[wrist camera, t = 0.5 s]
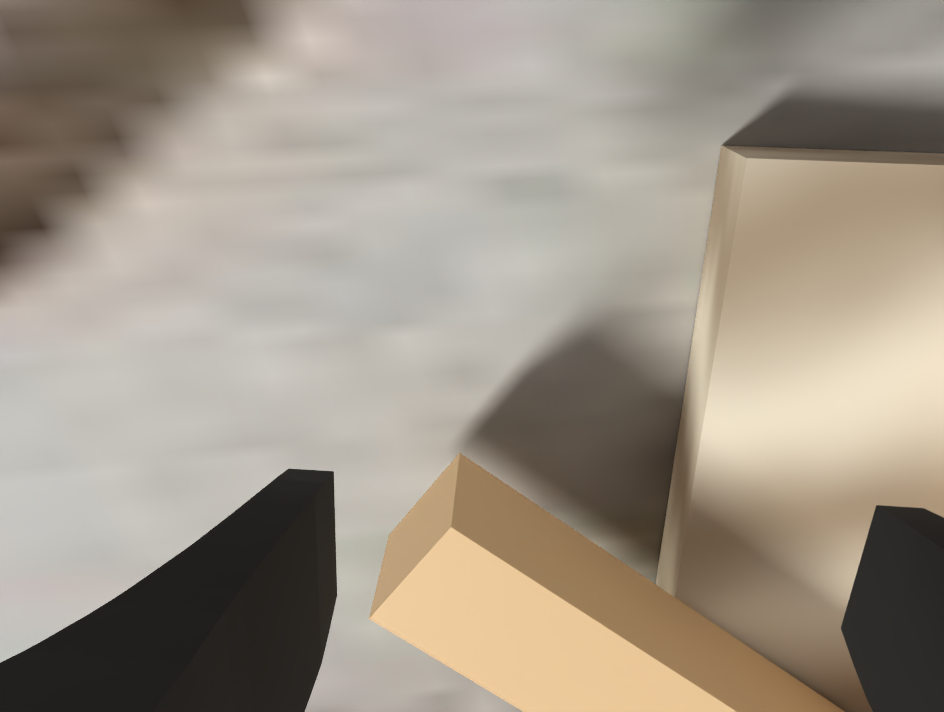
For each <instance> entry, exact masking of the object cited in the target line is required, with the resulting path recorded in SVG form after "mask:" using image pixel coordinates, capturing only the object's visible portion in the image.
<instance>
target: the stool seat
mask: <svg viewBox="0 0 944 712" xmlns="http://www.w3.org/2000/svg"><path fill="white" fill-rule="evenodd" d="M876 505H882V506H898V507H915V508H924V509H927V510H929V511H931V512H933V513H935V514H937V515H939V516H941V517H943V518H944V153H918V152H889V151H861V150H833V149H805V148H777V147H749V146H721V152H720V159H719V166H718V172H717V179H716V186H715V192H714V199H713V206H712V212H711V219H710V225H709V232H708V239H707V245H706V252H705V259H704V265H703V272H702V279H701V285H700V292H699V299H698V305H697V312H696V319H695V325H694V332H693V339H692V345H691V352H690V359H689V365H688V372H687V378H686V385H685V392H684V398H683V405H682V412H681V418H680V425H679V432H678V438H677V445H676V452H675V458H674V465H673V472H672V478H671V485H670V492H669V498H668V505H667V511H666V518H665V525H664V531H663V538H662V545H661V551H660V558H659V565H658V571H657V578H656V585H657V586H659V587H660V588H662V589H663V590H665V591H666V592H668V593H669V594H671V595H672V596H673V597H675V598H676V599H678V600H679V601H681V602H682V603H684V604H685V605H687V606H688V607H690V608H691V609H693V610H694V611H696V612H697V613H699V614H700V615H702V616H703V617H705V618H706V619H708V620H709V621H711V622H712V623H714V624H715V625H717V626H718V627H720V628H721V629H723V630H724V631H726V632H727V633H729V634H730V635H732V636H733V637H735V638H736V639H738V640H739V641H741V642H742V643H744V644H745V645H746V646H748V647H749V648H751V649H752V650H754V651H755V652H757V653H758V654H760V655H761V656H763V657H764V658H766V659H767V660H769V661H770V662H772V663H773V664H775V665H776V666H778V667H779V668H781V669H782V670H784V671H785V672H787V673H788V674H790V675H791V676H793V677H794V678H796V679H797V680H799V681H800V682H802V683H803V684H805V685H806V686H808V687H809V688H811V689H812V690H814V691H815V692H816V693H818V694H819V695H821V696H822V697H824V698H825V699H827V700H828V701H830V702H831V703H833V704H834V705H836V706H837V707H839V708H840V709H842V710H843V711H845V712H873V711H872V709H871V707H870V705H869V703H868V701H867V698H866V696H865V693H864V691H863V688H862V686H861V683H860V680H859V678H858V675H857V673H856V670H855V668H854V665H853V662H852V659H851V656H850V653H849V651H848V648H847V645H846V642H845V639H844V636H843V633H842V630H841V625H842V622H843V618H844V615H845V611H846V608H847V605H848V601H849V598H850V594H851V591H852V587H853V584H854V580H855V577H856V573H857V570H858V566H859V563H860V560H861V556H862V553H863V549H864V546H865V542H866V539H867V535H868V532H869V528H870V525H871V522H872V518H873V515H874V511H875V508H876Z"/></svg>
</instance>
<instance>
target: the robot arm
mask: <svg viewBox="0 0 944 712" xmlns="http://www.w3.org/2000/svg"><path fill="white" fill-rule="evenodd" d="M336 597H337V578H336V543H335V507H334V472H333V471H316V470H300V469H288V470H286V471H285V472H284V473H282V474H281V475H280V476H278V477H277V478H276V479H275V480H273V481H272V482H271V483H270V484H268V485H267V486H266V487H265V488H263V489H262V490H261V491H260V492H258V493H257V494H256V495H255V496H253V497H252V498H251V499H250V500H249V501H247V502H246V503H245V504H244V505H242V506H241V507H240V508H239V509H237V510H236V511H235V512H234V513H232V514H231V515H230V516H228V517H227V518H226V519H225V520H223V521H222V522H221V523H219V524H218V525H217V526H216V527H214V528H213V529H212V530H210V531H209V532H208V533H207V534H205V535H204V536H203V537H201V538H200V539H199V540H197V541H196V542H195V543H194V544H192V545H191V546H190V547H188V548H187V549H185V550H184V551H182V552H181V553H180V554H178V555H177V556H175V557H174V558H172V559H171V560H170V561H168V562H167V563H165V564H164V565H162V566H161V567H160V568H158V569H157V570H155V571H154V572H152V573H151V574H149V575H148V576H147V577H145V578H144V579H142V580H141V581H139V582H138V583H137V584H135V585H134V586H132V587H131V588H129V589H128V590H127V591H125V592H123V593H122V594H120V595H119V596H117V597H116V598H114V599H113V600H111V601H109V602H108V603H106V604H105V605H103V606H101V607H100V608H98V609H97V610H95V611H93V612H92V613H90V614H88V615H87V616H85V617H83V618H82V619H80V620H78V621H76V622H75V623H73V624H71V625H69V626H68V627H66V628H64V629H63V630H61V631H59V632H57V633H56V634H54V635H52V636H50V637H49V638H47V639H45V640H43V641H42V642H40V643H38V644H36V645H34V646H32V647H31V648H29V649H27V650H25V651H23V652H21V653H19V654H17V655H15V656H13V657H11V658H9V659H7V660H5V661H3V662H1V663H0V712H305V709H306V706H307V703H308V700H309V698H310V695H311V692H312V689H313V686H314V684H315V681H316V678H317V675H318V672H319V669H320V666H321V663H322V659H323V655H324V651H325V646H326V642H327V638H328V634H329V629H330V625H331V620H332V615H333V611H334V606H335V602H336ZM841 630H842V633H843V636H844V639H845V642H846V645H847V648H848V651H849V653H850V656H851V659H852V662H853V665H854V668H855V670H856V673H857V675H858V678H859V680H860V683H861V686H862V688H863V691H864V693H865V696H866V698H867V701H868V703H869V705H870V707H871V709H872V711H873V712H944V518H943V517H941V516H939V515H937V514H935V513H933V512H931V511H929V510H927V509H924V508H915V507H898V506H882V505H876V508H875V511H874V515H873V518H872V522H871V525H870V528H869V532H868V535H867V539H866V542H865V546H864V549H863V553H862V556H861V560H860V563H859V566H858V570H857V573H856V577H855V580H854V584H853V587H852V591H851V594H850V598H849V601H848V605H847V608H846V611H845V615H844V618H843V622H842V625H841Z"/></svg>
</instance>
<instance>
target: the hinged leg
mask: <svg viewBox="0 0 944 712" xmlns="http://www.w3.org/2000/svg"><path fill="white" fill-rule="evenodd" d="M369 619H370V620H372V621H374V622H375V623H377V624H379V625H380V626H382V627H384V628H385V629H387V630H389V631H390V632H392V633H394V634H395V635H397V636H399V637H400V638H402V639H404V640H405V641H407V642H409V643H410V644H412V645H414V646H415V647H417V648H418V649H420V650H422V651H423V652H425V653H427V654H428V655H430V656H432V657H433V658H435V659H437V660H438V661H440V662H442V663H443V664H445V665H447V666H448V667H450V668H452V669H453V670H455V671H457V672H458V673H460V674H462V675H463V676H465V677H467V678H468V679H470V680H472V681H473V682H475V683H477V684H478V685H480V686H482V687H483V688H485V689H487V690H488V691H490V692H492V693H493V694H495V695H497V696H498V697H500V698H502V699H503V700H505V701H507V702H508V703H510V704H512V705H513V706H515V707H517V708H518V709H520V710H522V711H523V712H845V711H843V710H842V709H840V708H839V707H837V706H836V705H834V704H833V703H831V702H830V701H828V700H827V699H825V698H824V697H822V696H821V695H819V694H818V693H816V692H815V691H814V690H812V689H811V688H809V687H808V686H806V685H805V684H803V683H802V682H800V681H799V680H797V679H796V678H794V677H793V676H791V675H790V674H788V673H787V672H785V671H784V670H782V669H781V668H779V667H778V666H776V665H775V664H773V663H772V662H770V661H769V660H767V659H766V658H764V657H763V656H761V655H760V654H758V653H757V652H755V651H754V650H752V649H751V648H749V647H748V646H746V645H745V644H744V643H742V642H741V641H739V640H738V639H736V638H735V637H733V636H732V635H730V634H729V633H727V632H726V631H724V630H723V629H721V628H720V627H718V626H717V625H715V624H714V623H712V622H711V621H709V620H708V619H706V618H705V617H703V616H702V615H700V614H699V613H697V612H696V611H694V610H693V609H691V608H690V607H688V606H687V605H685V604H684V603H682V602H681V601H679V600H678V599H676V598H675V597H673V596H672V595H671V594H669V593H668V592H666V591H665V590H663V589H662V588H660V587H659V586H657V585H656V584H654V583H653V582H651V581H650V580H648V579H647V578H645V577H644V576H642V575H641V574H639V573H638V572H636V571H635V570H633V569H632V568H630V567H629V566H627V565H626V564H624V563H623V562H621V561H620V560H618V559H617V558H615V557H614V556H612V555H611V554H609V553H608V552H606V551H605V550H603V549H602V548H601V547H599V546H598V545H596V544H595V543H593V542H592V541H590V540H589V539H587V538H586V537H584V536H583V535H581V534H580V533H578V532H577V531H575V530H574V529H572V528H571V527H569V526H568V525H566V524H565V523H563V522H562V521H560V520H559V519H557V518H556V517H554V516H553V515H551V514H550V513H548V512H547V511H545V510H544V509H542V508H541V507H539V506H538V505H536V504H535V503H533V502H532V501H531V500H529V499H528V498H526V497H525V496H523V495H522V494H520V493H519V492H517V491H516V490H514V489H513V488H511V487H510V486H508V485H507V484H505V483H504V482H502V481H501V480H499V479H498V478H496V477H495V476H493V475H492V474H490V473H489V472H487V471H486V470H484V469H483V468H481V467H480V466H478V465H477V464H475V463H474V462H472V461H471V460H469V459H468V458H466V457H465V456H463V455H462V454H461V453H459V454H458V455H457V457H456V458H455V459H454V460H453V461H452V462H451V464H450V465H449V466H448V467H447V468H446V469H445V471H444V472H443V473H442V474H441V475H440V476H439V477H438V479H437V480H436V481H435V482H434V483H433V484H432V486H431V487H430V488H429V489H428V490H427V491H426V493H425V494H424V495H423V496H422V497H421V498H420V500H419V501H418V502H417V503H416V504H415V505H414V507H413V508H412V509H411V510H410V511H409V512H408V514H407V515H406V516H405V517H404V518H403V519H402V521H401V522H400V523H399V524H398V525H397V526H396V528H395V529H394V530H393V531H392V532H391V533H390V535H389V537H388V541H387V545H386V550H385V554H384V558H383V562H382V566H381V571H380V575H379V579H378V583H377V587H376V592H375V596H374V600H373V604H372V608H371V613H370V617H369Z"/></svg>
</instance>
